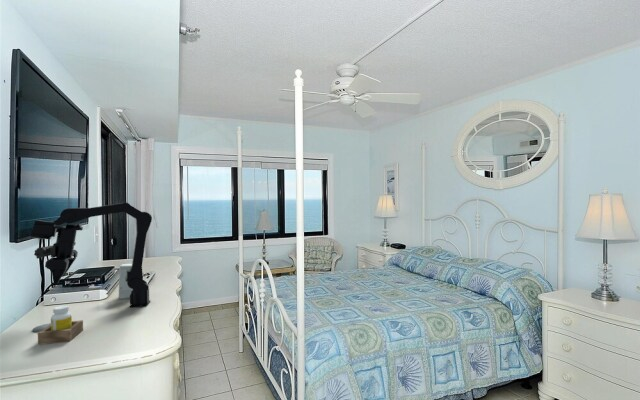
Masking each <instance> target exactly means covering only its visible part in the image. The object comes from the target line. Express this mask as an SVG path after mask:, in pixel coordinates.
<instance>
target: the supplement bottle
mask: <svg viewBox="0 0 640 400" xmlns="http://www.w3.org/2000/svg"><path fill="white" fill-rule="evenodd" d="M69 307H70V306H69V305H59V306H56V307H53V309H52V311H53V312H52V313H53V315H51V317H50V323H51V331H53V330H64V329H68V328H70V327H71V326H72V321H73V320H72V313H71V312H70V311H69V310H70V308H69Z"/></svg>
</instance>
